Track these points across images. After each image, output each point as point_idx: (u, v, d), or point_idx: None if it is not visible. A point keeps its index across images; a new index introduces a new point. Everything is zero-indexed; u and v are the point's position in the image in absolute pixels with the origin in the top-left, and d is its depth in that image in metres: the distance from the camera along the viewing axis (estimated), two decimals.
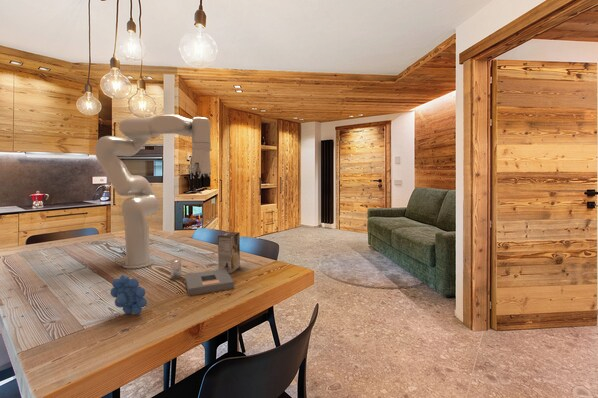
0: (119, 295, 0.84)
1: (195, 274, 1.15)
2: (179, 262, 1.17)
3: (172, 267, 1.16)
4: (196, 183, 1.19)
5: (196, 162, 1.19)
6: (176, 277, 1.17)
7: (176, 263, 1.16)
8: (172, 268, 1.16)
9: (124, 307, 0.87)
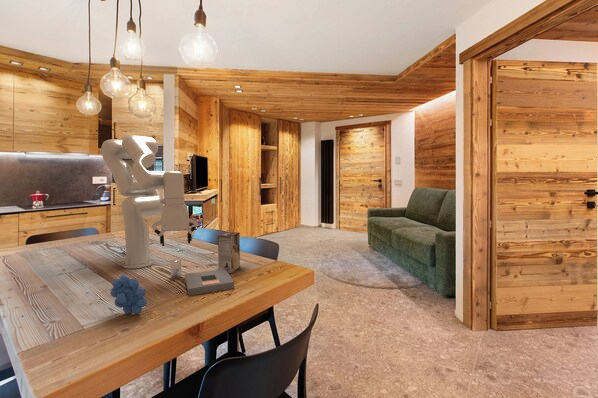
0: (119, 295, 0.84)
1: (195, 274, 1.15)
2: (179, 262, 1.17)
3: (172, 267, 1.16)
4: None
5: None
6: (176, 277, 1.17)
7: (176, 263, 1.16)
8: (172, 268, 1.16)
9: (124, 307, 0.87)
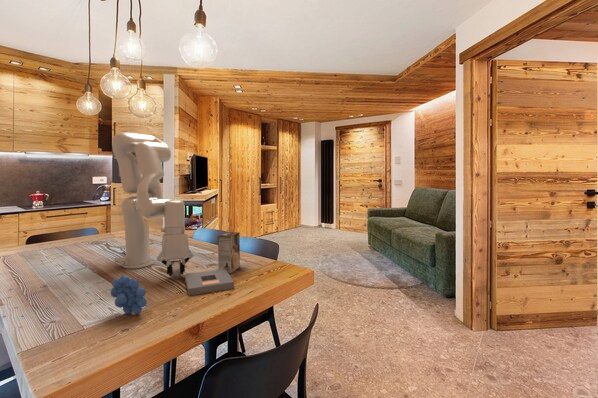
0: (119, 295, 0.84)
1: (195, 274, 1.15)
2: (179, 262, 1.17)
3: (172, 267, 1.16)
4: (184, 268, 1.20)
5: None
6: (176, 277, 1.17)
7: (176, 263, 1.16)
8: (172, 268, 1.16)
9: (124, 307, 0.87)
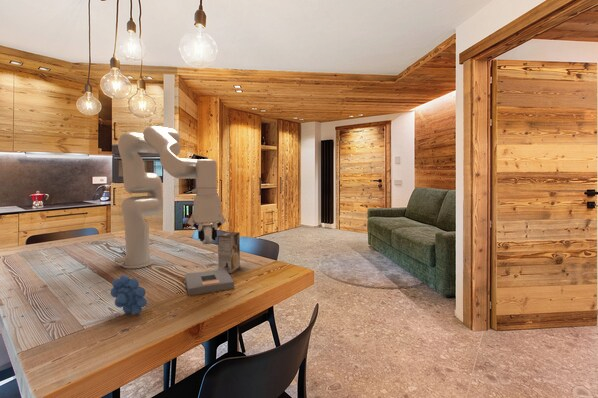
0: (119, 295, 0.84)
1: (195, 274, 1.15)
2: (211, 226, 1.09)
3: (204, 231, 1.08)
4: (216, 234, 1.11)
5: None
6: (208, 242, 1.08)
7: (208, 227, 1.08)
8: (204, 233, 1.08)
9: (124, 307, 0.87)
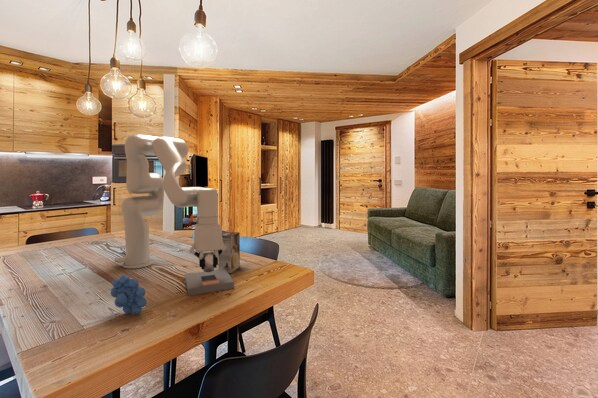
0: (119, 295, 0.84)
1: (195, 274, 1.15)
2: (212, 254, 1.10)
3: (205, 260, 1.09)
4: (217, 261, 1.12)
5: None
6: (209, 270, 1.09)
7: (209, 255, 1.09)
8: (205, 261, 1.09)
9: (124, 307, 0.87)
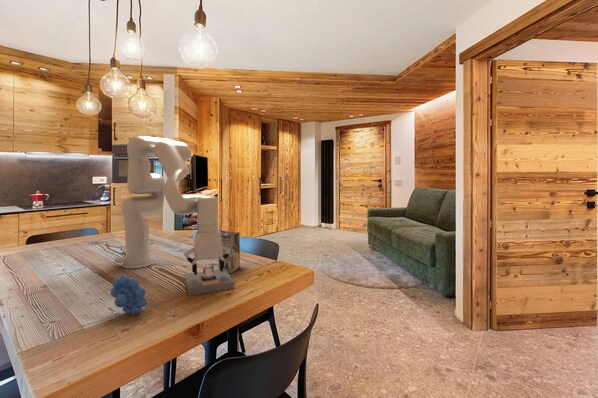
0: (119, 295, 0.84)
1: None
2: (212, 268, 1.10)
3: (205, 274, 1.09)
4: None
5: (221, 244, 1.12)
6: None
7: (209, 269, 1.09)
8: (205, 275, 1.09)
9: (124, 307, 0.87)
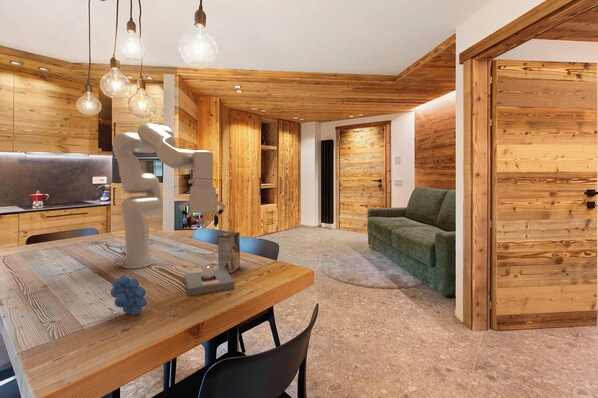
0: (119, 295, 0.84)
1: (195, 274, 1.15)
2: (212, 268, 1.10)
3: (205, 274, 1.09)
4: None
5: None
6: None
7: (209, 269, 1.09)
8: (205, 275, 1.09)
9: (124, 307, 0.87)
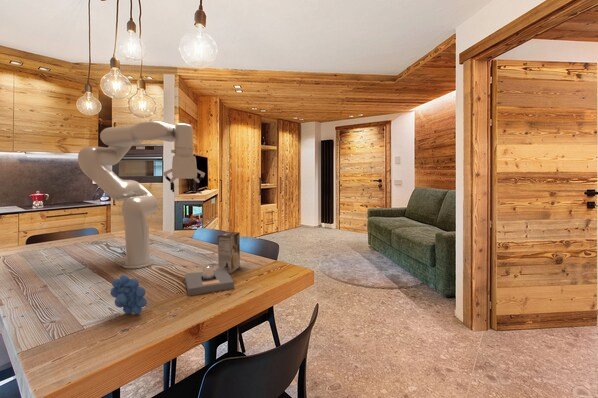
0: (119, 295, 0.84)
1: (195, 274, 1.15)
2: (212, 268, 1.10)
3: (205, 274, 1.09)
4: (198, 187, 1.31)
5: (196, 168, 1.29)
6: None
7: (209, 269, 1.09)
8: (205, 275, 1.09)
9: (124, 307, 0.87)
